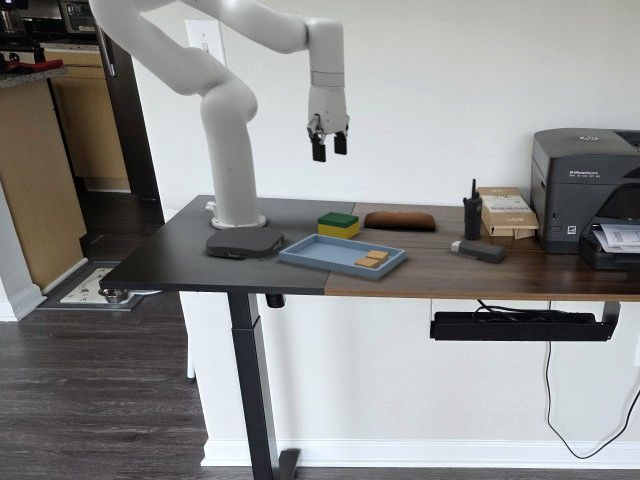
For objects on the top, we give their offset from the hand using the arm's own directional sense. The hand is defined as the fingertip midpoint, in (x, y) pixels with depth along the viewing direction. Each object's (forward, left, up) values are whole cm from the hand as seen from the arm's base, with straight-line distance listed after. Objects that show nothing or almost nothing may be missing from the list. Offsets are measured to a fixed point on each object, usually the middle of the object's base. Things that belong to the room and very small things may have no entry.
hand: (330, 157), depth 160 cm
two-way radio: (+32, +11, -18) cm, 38 cm away
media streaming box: (-10, -22, -18) cm, 30 cm away
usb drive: (+38, -1, -18) cm, 42 cm away
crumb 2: (+20, -16, -17) cm, 31 cm away
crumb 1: (+20, -21, -17) cm, 34 cm away
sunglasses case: (+13, +10, -18) cm, 24 cm away
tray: (+13, -19, -17) cm, 29 cm away
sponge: (+3, -4, -17) cm, 18 cm away
